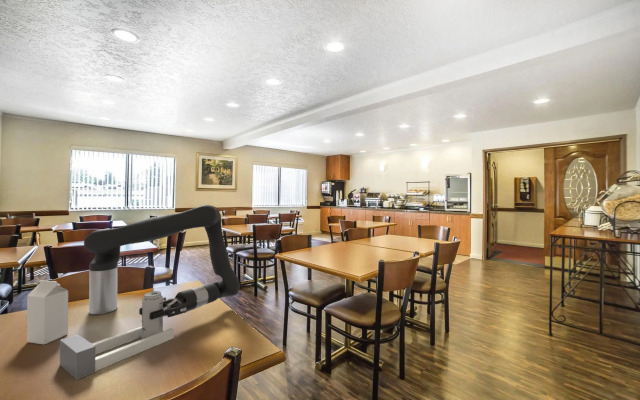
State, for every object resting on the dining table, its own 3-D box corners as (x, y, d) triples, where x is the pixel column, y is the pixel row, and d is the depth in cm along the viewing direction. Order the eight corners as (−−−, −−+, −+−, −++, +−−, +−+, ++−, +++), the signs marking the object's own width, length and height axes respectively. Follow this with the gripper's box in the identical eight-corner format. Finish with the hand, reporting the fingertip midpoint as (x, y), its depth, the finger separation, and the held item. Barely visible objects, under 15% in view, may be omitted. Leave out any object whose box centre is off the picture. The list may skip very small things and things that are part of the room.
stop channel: (60, 364, 80) (60, 339, 80) (155, 329, 102) (155, 309, 102) (76, 380, 74) (76, 352, 74) (174, 338, 96) (174, 317, 96)
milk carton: (44, 345, 91) (44, 284, 90) (26, 342, 92) (26, 283, 92) (68, 334, 98) (68, 278, 97) (51, 332, 99) (51, 277, 99)
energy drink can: (143, 336, 97) (143, 292, 97) (163, 333, 100) (163, 289, 100) (140, 344, 92) (140, 297, 92) (162, 341, 94) (162, 295, 94)
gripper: (181, 285, 111) (133, 298, 97) (204, 292, 104) (156, 307, 90) (180, 304, 112) (133, 320, 97) (204, 313, 104) (156, 331, 90)
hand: (145, 314), depth 94 cm, fingers closed on energy drink can, 6 cm apart
